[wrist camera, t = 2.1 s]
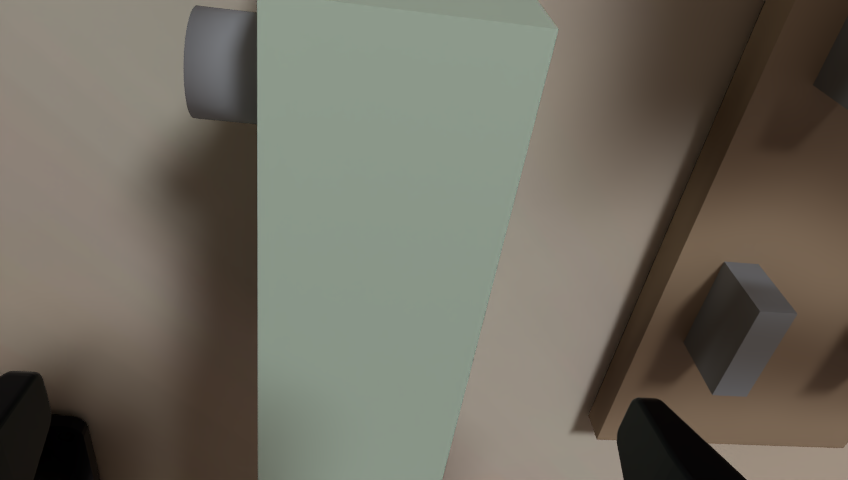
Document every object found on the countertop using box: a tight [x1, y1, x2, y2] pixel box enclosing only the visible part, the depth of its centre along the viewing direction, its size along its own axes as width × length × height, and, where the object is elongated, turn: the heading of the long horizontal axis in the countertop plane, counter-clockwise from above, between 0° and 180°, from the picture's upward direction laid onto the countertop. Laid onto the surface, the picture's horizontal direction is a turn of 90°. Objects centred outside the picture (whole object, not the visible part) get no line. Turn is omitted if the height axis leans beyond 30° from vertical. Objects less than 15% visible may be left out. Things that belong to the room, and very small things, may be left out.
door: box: [184, 0, 559, 480], centre depth 13 cm, size 12×4×8 cm, turn 172°
